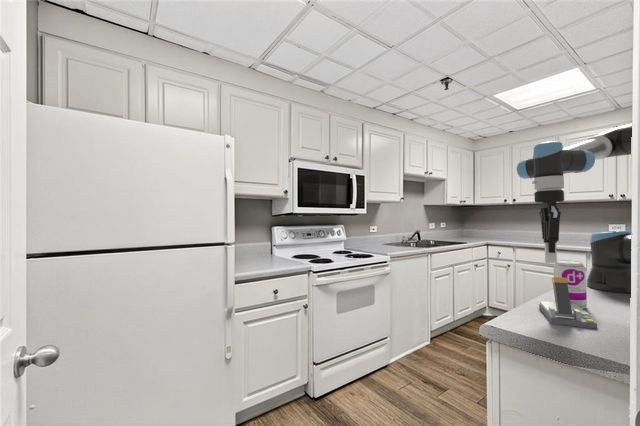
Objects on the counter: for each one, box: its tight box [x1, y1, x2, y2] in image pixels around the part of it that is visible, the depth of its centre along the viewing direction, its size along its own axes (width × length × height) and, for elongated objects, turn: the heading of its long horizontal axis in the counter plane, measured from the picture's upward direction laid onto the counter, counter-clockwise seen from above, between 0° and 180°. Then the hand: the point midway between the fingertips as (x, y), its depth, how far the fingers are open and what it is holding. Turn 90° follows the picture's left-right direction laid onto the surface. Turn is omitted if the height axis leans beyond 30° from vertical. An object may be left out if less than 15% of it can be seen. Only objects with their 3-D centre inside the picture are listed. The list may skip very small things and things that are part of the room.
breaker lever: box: [551, 276, 575, 318], centre depth 84 cm, size 4×2×11 cm, turn 64°
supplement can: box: [553, 259, 588, 310], centre depth 96 cm, size 8×8×15 cm
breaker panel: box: [538, 300, 598, 330], centre depth 86 cm, size 10×14×4 cm
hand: (550, 262), depth 92 cm, fingers closed
